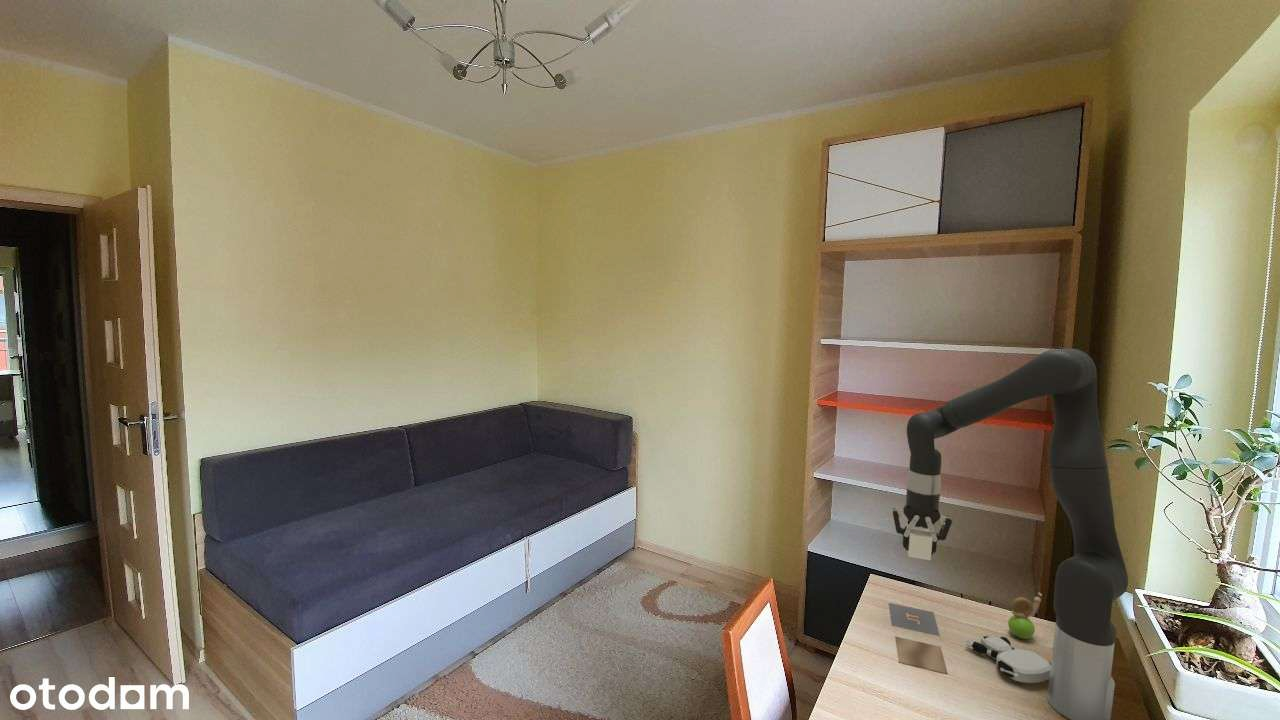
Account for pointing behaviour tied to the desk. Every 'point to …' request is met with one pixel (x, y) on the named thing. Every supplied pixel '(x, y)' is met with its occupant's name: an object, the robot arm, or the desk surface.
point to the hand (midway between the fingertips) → (918, 551)
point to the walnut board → (920, 655)
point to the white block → (920, 544)
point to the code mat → (913, 619)
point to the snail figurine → (1023, 617)
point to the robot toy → (1013, 659)
